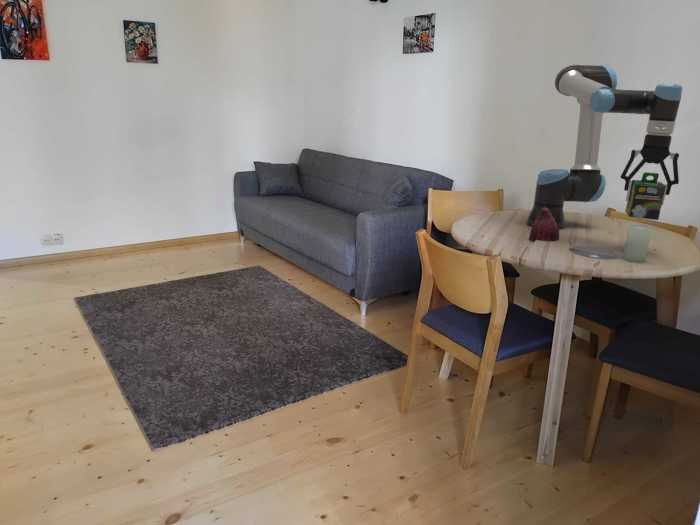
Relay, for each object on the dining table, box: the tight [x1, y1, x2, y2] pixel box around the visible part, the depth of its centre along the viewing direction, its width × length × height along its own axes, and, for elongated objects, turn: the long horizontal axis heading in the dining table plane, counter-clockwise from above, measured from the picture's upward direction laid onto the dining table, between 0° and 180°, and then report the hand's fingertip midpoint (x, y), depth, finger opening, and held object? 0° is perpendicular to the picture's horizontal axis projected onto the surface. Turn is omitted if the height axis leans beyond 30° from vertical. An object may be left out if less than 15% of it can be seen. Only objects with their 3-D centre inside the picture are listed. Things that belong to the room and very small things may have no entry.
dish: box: [568, 245, 621, 260], centre depth 176 cm, size 16×16×1 cm
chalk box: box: [625, 171, 666, 221], centre depth 174 cm, size 9×9×15 cm
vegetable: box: [528, 206, 560, 243], centre depth 190 cm, size 10×10×15 cm
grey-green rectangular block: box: [622, 224, 653, 263], centre depth 168 cm, size 7×7×12 cm
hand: (643, 202), depth 175 cm, fingers closed on chalk box, 10 cm apart
